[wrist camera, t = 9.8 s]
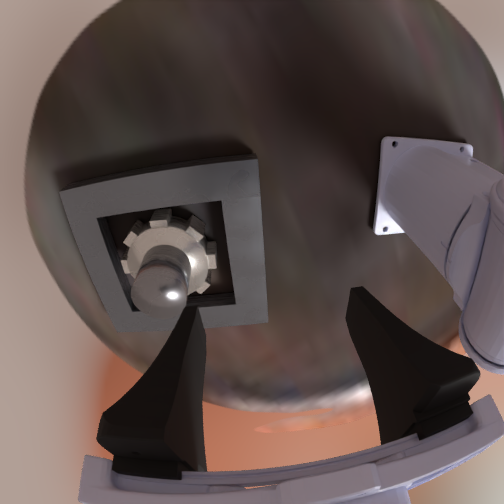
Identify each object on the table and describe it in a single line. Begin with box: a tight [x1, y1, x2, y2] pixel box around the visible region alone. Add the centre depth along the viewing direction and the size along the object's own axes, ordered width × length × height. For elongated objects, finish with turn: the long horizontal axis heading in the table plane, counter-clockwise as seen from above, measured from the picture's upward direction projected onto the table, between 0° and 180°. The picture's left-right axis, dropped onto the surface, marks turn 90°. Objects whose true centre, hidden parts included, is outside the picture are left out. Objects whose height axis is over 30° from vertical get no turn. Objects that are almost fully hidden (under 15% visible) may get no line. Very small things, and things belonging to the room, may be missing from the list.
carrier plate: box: [59, 153, 268, 332], centre depth 22 cm, size 14×14×2 cm
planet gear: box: [121, 208, 217, 319], centre depth 20 cm, size 7×7×6 cm
